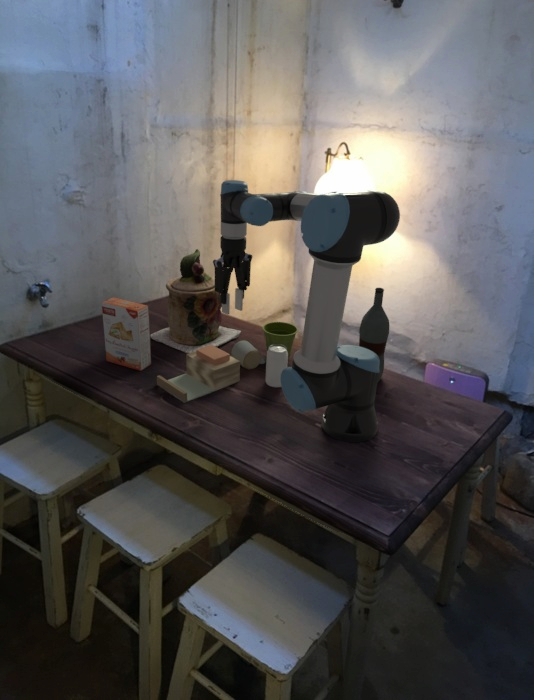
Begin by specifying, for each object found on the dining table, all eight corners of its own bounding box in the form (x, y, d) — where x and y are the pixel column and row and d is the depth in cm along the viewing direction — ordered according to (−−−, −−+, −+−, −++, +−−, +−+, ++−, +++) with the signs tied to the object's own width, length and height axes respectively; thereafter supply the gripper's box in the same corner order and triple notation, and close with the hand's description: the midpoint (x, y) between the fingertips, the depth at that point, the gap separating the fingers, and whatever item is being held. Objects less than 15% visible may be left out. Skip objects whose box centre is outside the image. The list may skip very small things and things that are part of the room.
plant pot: (290, 369, 187) (292, 337, 183) (256, 362, 191) (257, 331, 186) (300, 354, 197) (302, 324, 193) (267, 348, 201) (269, 319, 196)
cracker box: (105, 362, 186) (100, 301, 177) (117, 355, 191) (113, 296, 182) (140, 372, 181) (136, 310, 172) (152, 364, 186) (149, 304, 177)
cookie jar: (146, 339, 204) (141, 251, 190) (192, 319, 223) (191, 238, 209) (198, 358, 192) (197, 266, 178) (243, 336, 210) (245, 251, 196)
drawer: (214, 391, 172) (214, 382, 170) (184, 403, 165) (184, 393, 164) (186, 374, 181) (186, 365, 180) (157, 384, 174) (156, 376, 173)
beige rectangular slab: (239, 381, 178) (240, 361, 175) (214, 391, 172) (214, 370, 169) (211, 365, 187) (211, 346, 184) (186, 374, 181) (186, 354, 178)
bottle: (387, 383, 181) (400, 293, 168) (359, 385, 179) (370, 294, 166) (376, 370, 189) (388, 283, 177) (349, 371, 187) (360, 284, 175)
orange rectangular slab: (229, 360, 175) (229, 354, 175) (214, 365, 172) (214, 359, 171) (211, 350, 181) (211, 344, 180) (196, 355, 178) (196, 349, 177)
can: (290, 383, 178) (292, 348, 173) (276, 390, 174) (278, 354, 169) (275, 376, 182) (277, 342, 177) (261, 382, 178) (262, 347, 173)
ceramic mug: (243, 373, 183) (244, 351, 180) (230, 363, 189) (231, 342, 186) (270, 366, 189) (272, 345, 186) (257, 357, 195) (258, 336, 192)
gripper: (247, 229, 174) (245, 301, 183) (201, 237, 162) (201, 314, 172) (264, 234, 169) (261, 308, 179) (217, 243, 158) (217, 321, 167)
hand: (232, 311), depth 175 cm, fingers open, 4 cm apart
